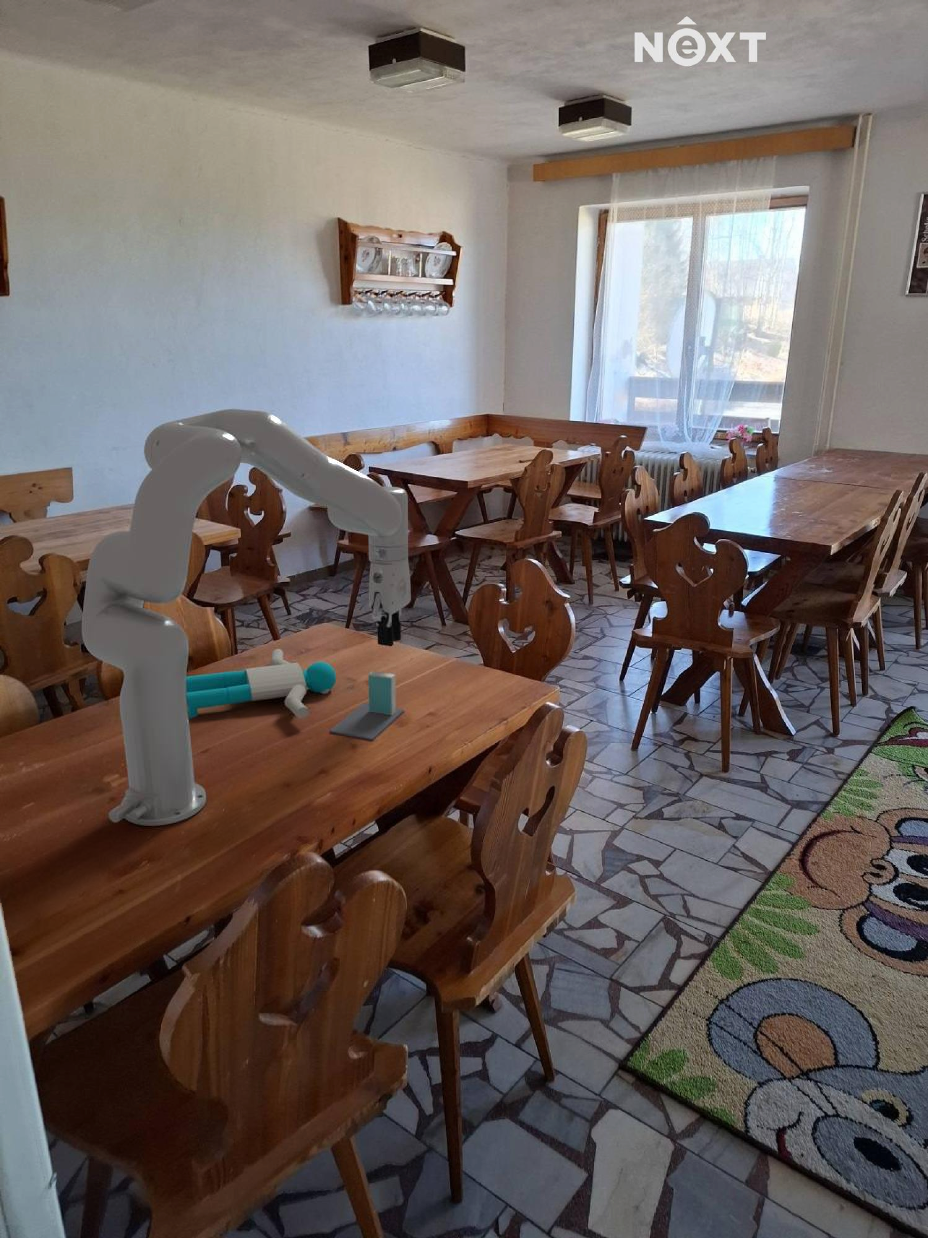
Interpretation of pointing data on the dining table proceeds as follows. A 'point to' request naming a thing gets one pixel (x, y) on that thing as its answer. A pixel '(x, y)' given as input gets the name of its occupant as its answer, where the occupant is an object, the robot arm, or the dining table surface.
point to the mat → (365, 723)
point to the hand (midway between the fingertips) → (389, 641)
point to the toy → (260, 685)
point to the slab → (382, 693)
